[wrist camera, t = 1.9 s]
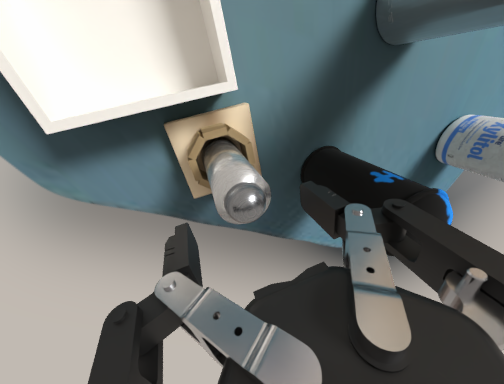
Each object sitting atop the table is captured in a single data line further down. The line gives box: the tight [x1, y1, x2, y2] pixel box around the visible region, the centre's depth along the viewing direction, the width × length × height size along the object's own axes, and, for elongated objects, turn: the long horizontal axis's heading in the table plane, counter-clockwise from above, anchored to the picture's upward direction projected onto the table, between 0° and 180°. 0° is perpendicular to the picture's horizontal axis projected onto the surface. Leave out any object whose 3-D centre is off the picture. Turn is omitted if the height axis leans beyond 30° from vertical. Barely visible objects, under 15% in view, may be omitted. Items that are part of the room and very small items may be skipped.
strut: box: [201, 136, 271, 224], centre depth 19 cm, size 5×5×14 cm
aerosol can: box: [301, 146, 453, 256], centre depth 25 cm, size 8×8×20 cm
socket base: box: [164, 103, 262, 199], centre depth 25 cm, size 10×10×4 cm
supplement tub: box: [436, 115, 504, 182], centre depth 34 cm, size 10×10×15 cm
